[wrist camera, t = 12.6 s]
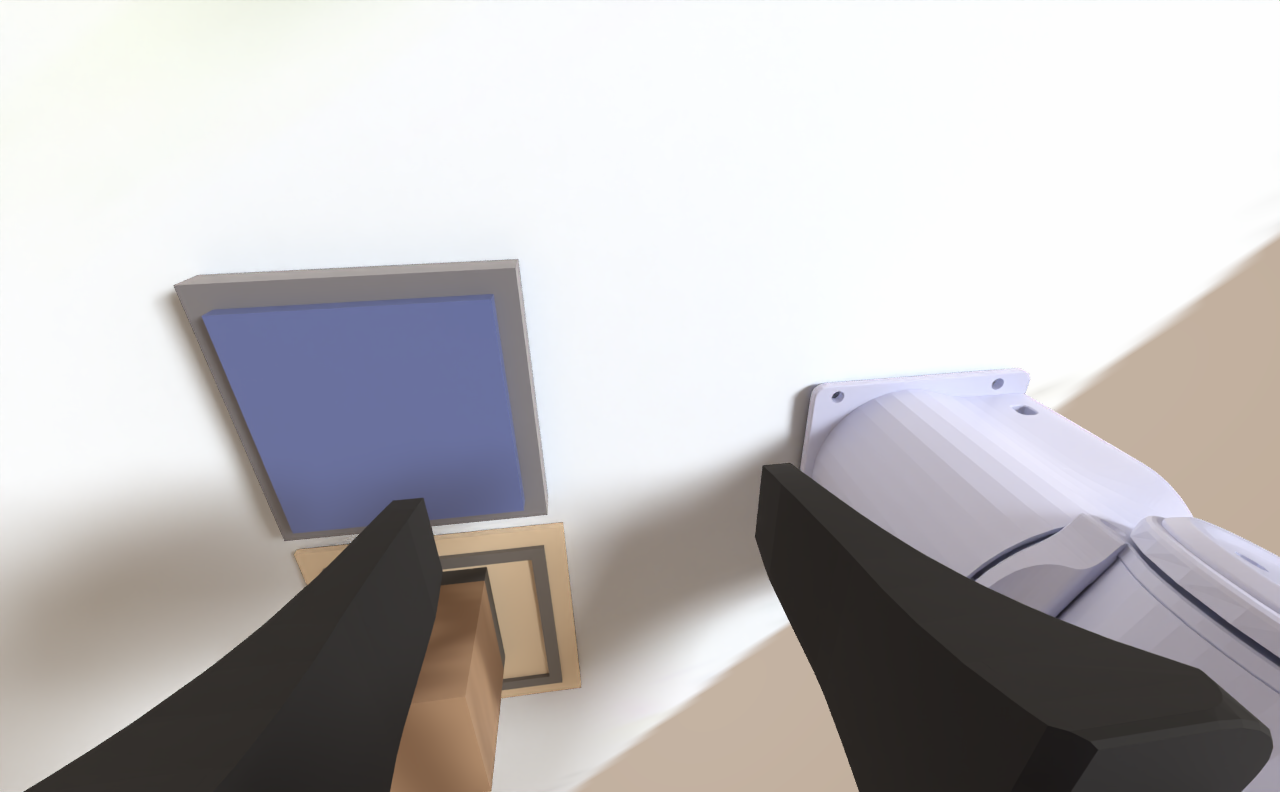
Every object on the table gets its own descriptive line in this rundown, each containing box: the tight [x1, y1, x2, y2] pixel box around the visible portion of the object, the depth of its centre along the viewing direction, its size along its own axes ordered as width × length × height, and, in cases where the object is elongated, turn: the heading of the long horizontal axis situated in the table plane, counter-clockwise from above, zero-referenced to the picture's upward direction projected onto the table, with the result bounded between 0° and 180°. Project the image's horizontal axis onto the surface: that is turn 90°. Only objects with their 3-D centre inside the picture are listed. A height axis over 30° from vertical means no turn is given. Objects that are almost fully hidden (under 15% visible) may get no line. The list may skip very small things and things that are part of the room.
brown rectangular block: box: [390, 567, 505, 792], centre depth 22 cm, size 4×6×6 cm, turn 2°
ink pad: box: [174, 259, 548, 541], centre depth 19 cm, size 10×10×2 cm
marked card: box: [294, 522, 581, 698], centre depth 25 cm, size 11×11×1 cm
